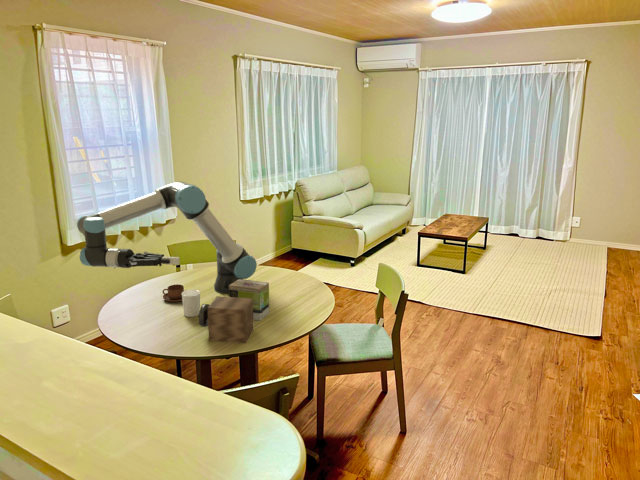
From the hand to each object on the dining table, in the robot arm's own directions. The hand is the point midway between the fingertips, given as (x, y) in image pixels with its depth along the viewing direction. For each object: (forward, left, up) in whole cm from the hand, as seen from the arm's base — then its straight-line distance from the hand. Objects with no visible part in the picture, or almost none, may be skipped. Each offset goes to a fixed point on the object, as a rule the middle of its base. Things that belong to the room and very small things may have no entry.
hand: (178, 261), depth 187 cm
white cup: (-13, -12, -30) cm, 35 cm away
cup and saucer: (-18, -32, -30) cm, 48 cm away
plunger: (-9, +15, -26) cm, 31 cm away
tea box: (-30, +7, -30) cm, 43 cm away
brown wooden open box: (-11, +18, -30) cm, 36 cm away
